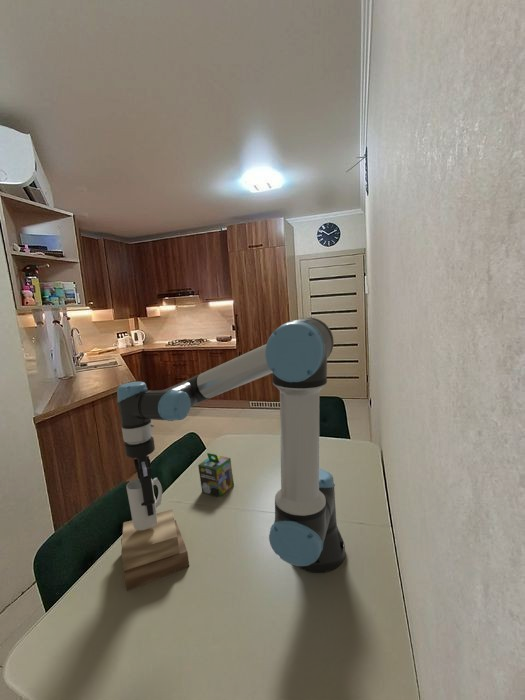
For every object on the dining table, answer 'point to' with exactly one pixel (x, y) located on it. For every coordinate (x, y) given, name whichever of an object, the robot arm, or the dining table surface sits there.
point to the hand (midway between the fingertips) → (150, 517)
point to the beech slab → (149, 541)
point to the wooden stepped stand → (157, 566)
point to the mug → (136, 500)
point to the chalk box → (216, 475)
